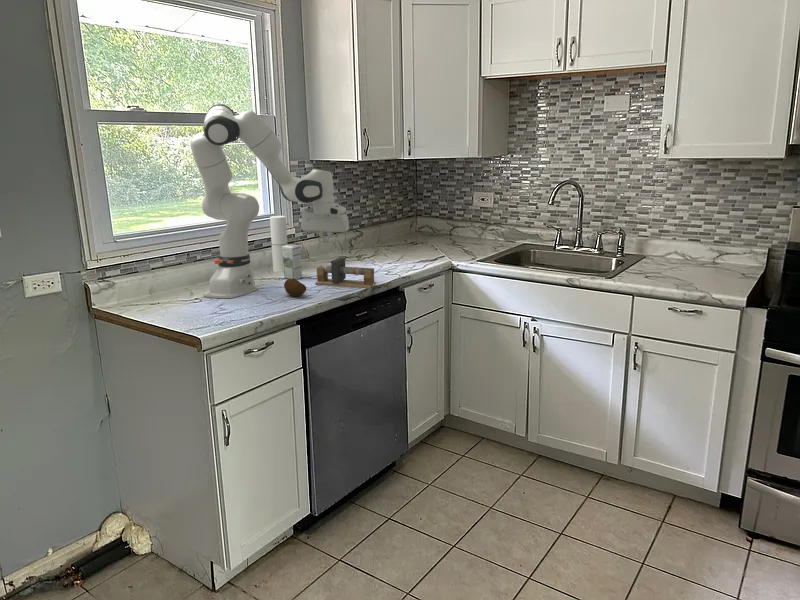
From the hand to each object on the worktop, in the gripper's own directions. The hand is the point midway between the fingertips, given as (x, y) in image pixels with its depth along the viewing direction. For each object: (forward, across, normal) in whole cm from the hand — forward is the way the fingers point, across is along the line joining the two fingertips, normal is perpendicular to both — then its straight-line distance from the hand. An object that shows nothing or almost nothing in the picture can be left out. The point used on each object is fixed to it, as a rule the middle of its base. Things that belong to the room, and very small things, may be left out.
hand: (325, 242), depth 252 cm
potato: (+17, -4, -24) cm, 29 cm away
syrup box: (+18, -19, +4) cm, 26 cm away
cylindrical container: (+18, -32, +17) cm, 40 cm away
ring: (+16, +5, 0) cm, 17 cm away
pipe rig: (+18, +8, 0) cm, 19 cm away
